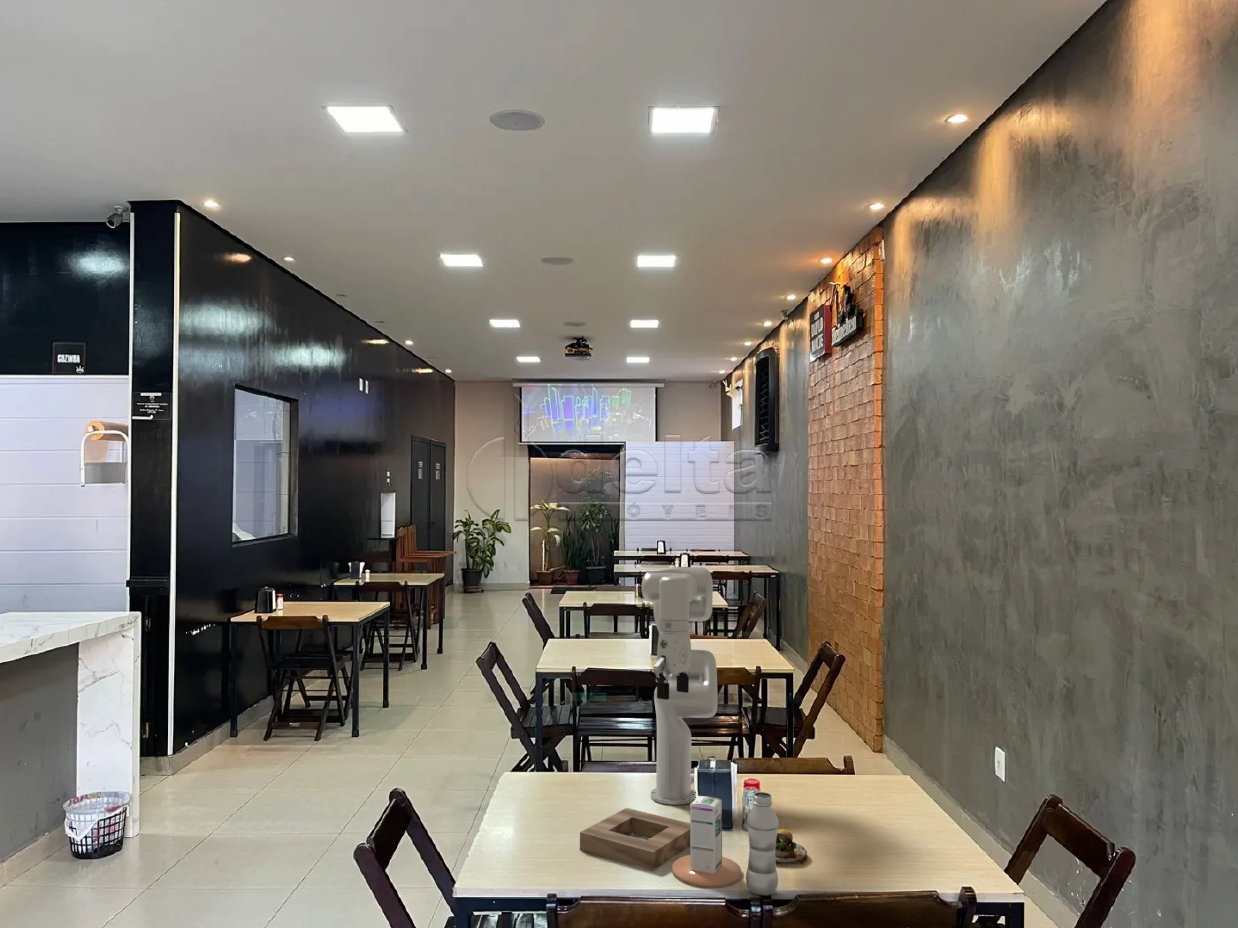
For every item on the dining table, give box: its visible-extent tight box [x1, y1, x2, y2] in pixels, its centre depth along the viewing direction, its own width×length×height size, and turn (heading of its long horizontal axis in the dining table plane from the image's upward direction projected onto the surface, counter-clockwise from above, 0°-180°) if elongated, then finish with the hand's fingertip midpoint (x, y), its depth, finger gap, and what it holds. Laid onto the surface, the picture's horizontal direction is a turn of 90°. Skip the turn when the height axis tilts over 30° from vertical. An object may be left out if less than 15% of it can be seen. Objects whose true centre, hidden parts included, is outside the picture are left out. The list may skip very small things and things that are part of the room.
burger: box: [775, 821, 808, 865], centre depth 197 cm, size 12×12×8 cm
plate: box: [671, 854, 742, 889], centre depth 187 cm, size 15×15×1 cm
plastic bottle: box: [745, 791, 780, 896], centre depth 178 cm, size 6×7×20 cm
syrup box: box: [689, 795, 723, 874], centre depth 188 cm, size 6×6×14 cm
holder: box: [579, 807, 690, 872], centre depth 202 cm, size 20×20×4 cm
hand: (673, 695), depth 212 cm, fingers open, 9 cm apart
